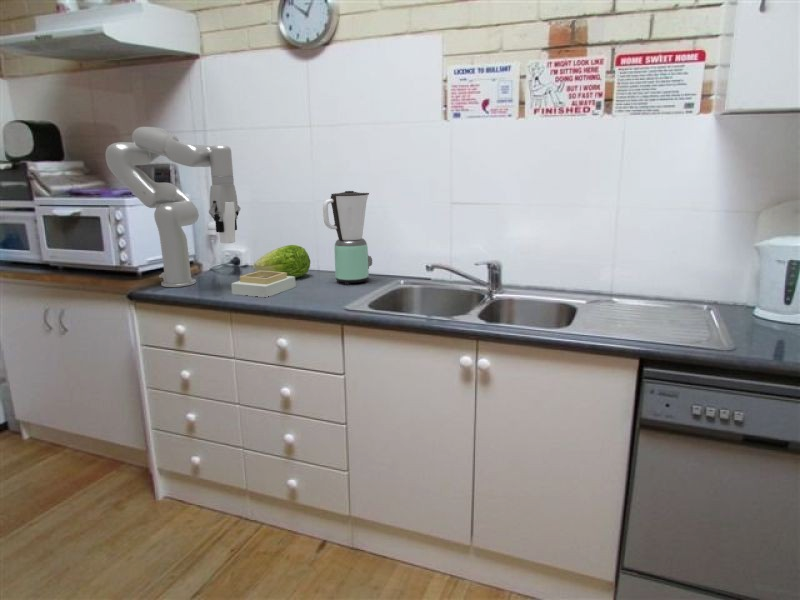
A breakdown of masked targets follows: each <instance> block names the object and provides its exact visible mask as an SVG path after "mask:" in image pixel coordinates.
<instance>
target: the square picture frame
mask: <svg viewBox="0 0 800 600" xmlns="http://www.w3.org/2000/svg"><path fill="white" fill-rule="evenodd" d="M296 285H297V284H296V278H295V277H294V276H287V273H285V272H273V271H253V272H249V273H246V274H244V275H240V276H239V280H238V281H235V282H231V285H230V286H231V294H232V295H237V296H245V295H248V296H247V297H255V296H258V298H264V297H267V298H269V297H272V296H274V295H277V294H279V293H283V292H285V291H288V290H291V289H294V288H296V287H297V286H296ZM268 296H269V297H268Z"/></svg>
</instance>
